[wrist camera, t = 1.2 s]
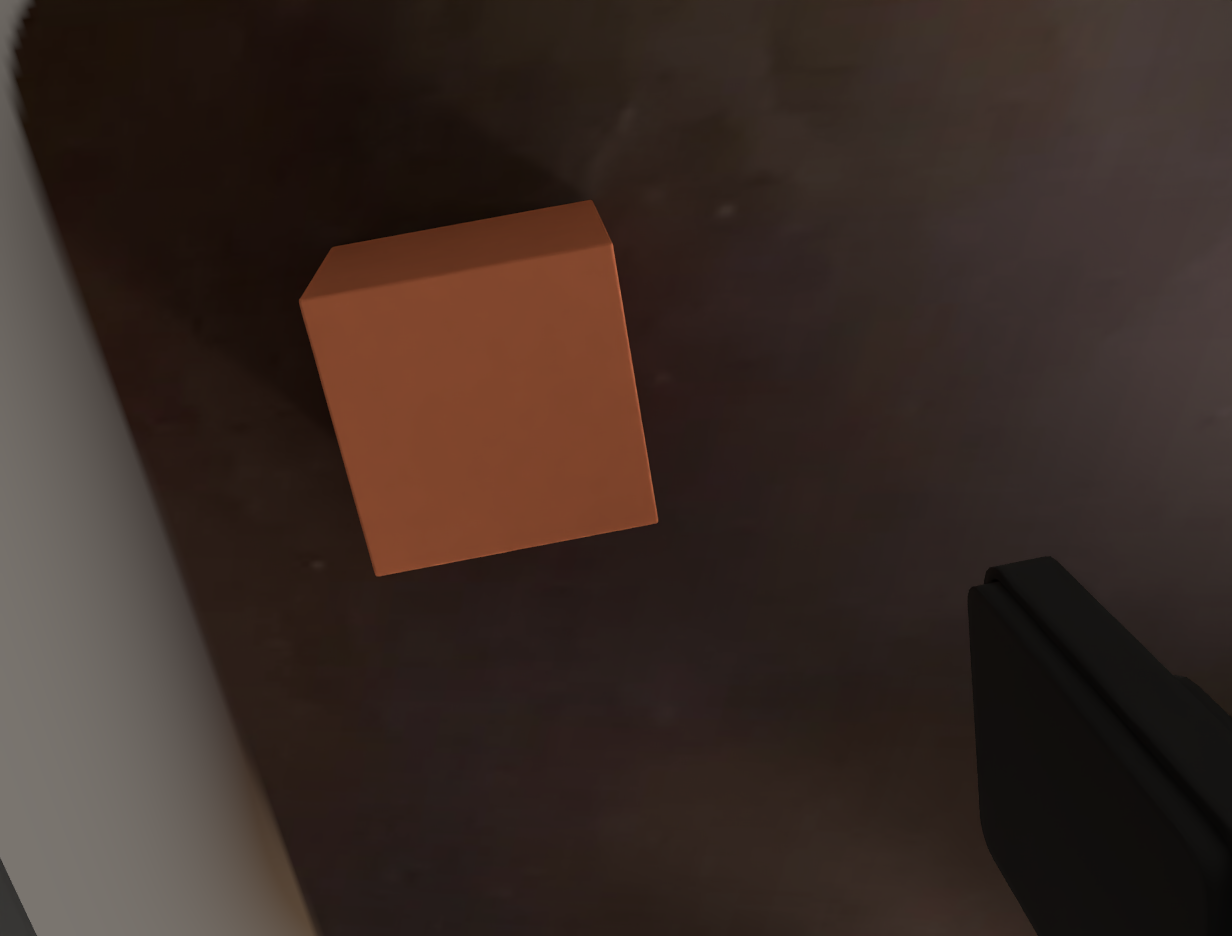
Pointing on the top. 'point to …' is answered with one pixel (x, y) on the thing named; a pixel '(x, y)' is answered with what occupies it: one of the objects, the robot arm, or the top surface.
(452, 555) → the orange block
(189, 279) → the top surface
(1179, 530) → the top surface
